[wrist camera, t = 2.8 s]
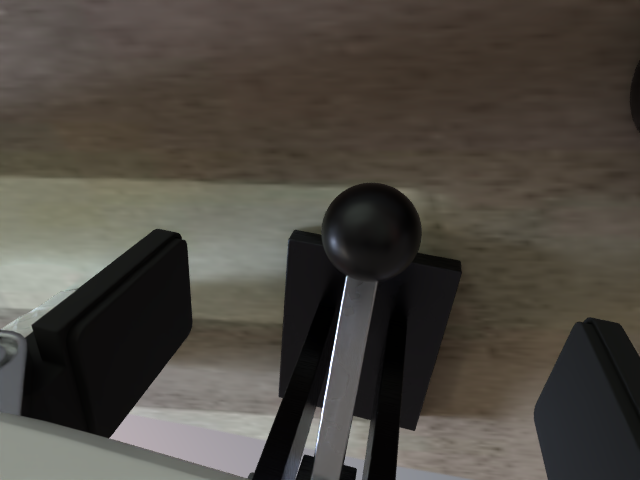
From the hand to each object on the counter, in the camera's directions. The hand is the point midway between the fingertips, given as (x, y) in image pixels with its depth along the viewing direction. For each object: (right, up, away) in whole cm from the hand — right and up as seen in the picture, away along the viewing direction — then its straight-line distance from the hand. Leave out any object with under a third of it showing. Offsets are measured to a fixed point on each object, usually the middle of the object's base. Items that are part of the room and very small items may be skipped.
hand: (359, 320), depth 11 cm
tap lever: (0, -3, +7) cm, 7 cm away
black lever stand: (+1, -3, +16) cm, 16 cm away
